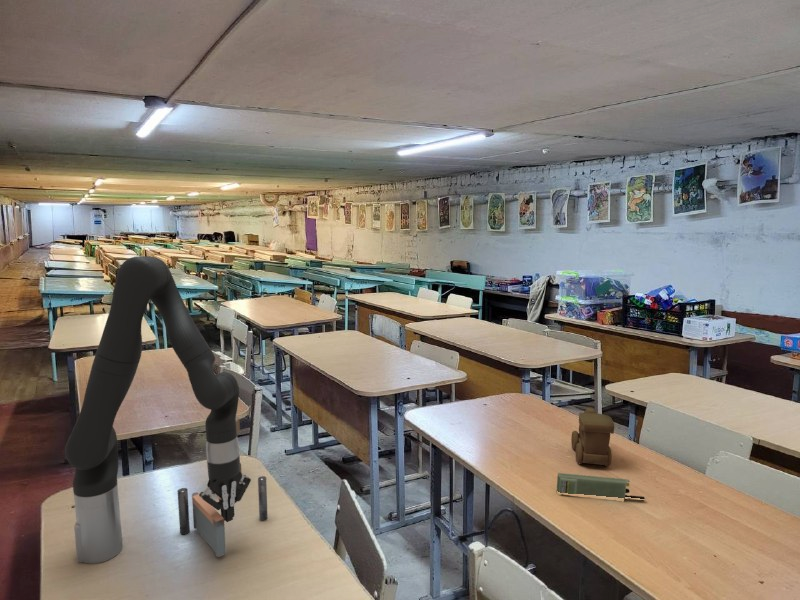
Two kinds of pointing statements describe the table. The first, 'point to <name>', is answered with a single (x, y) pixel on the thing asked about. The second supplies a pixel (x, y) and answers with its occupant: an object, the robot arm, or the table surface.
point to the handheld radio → (593, 485)
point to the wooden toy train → (593, 438)
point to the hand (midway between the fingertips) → (228, 519)
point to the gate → (209, 524)
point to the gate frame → (185, 508)
